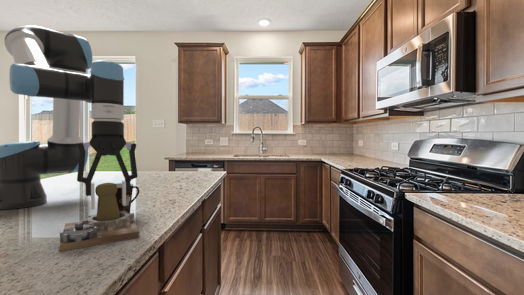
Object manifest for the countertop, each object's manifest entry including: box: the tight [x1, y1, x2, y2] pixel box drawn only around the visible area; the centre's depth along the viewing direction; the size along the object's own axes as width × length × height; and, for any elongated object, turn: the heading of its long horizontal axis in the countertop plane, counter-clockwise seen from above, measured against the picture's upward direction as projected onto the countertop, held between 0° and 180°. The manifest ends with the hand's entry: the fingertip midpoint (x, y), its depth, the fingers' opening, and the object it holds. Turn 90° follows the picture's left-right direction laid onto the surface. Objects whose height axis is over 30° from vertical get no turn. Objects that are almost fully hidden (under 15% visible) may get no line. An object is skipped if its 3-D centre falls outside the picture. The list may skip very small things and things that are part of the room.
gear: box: [59, 223, 97, 243], centre depth 63 cm, size 7×7×3 cm
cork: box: [94, 182, 120, 221], centre depth 72 cm, size 6×6×11 cm
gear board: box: [58, 211, 140, 252], centre depth 70 cm, size 17×16×4 cm
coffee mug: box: [115, 182, 140, 214], centre depth 85 cm, size 12×9×10 cm
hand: (108, 205), depth 72 cm, fingers open, 7 cm apart
